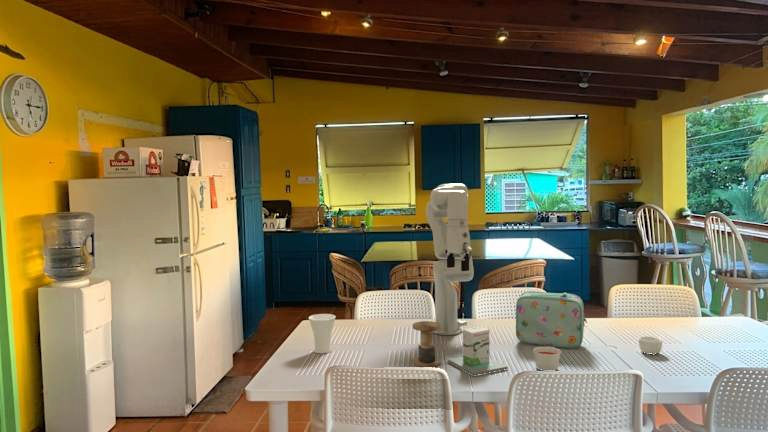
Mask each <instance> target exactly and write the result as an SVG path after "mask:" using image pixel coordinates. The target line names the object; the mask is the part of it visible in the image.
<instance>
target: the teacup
mask: <svg viewBox="0 0 768 432" xmlns="http://www.w3.org/2000/svg"><path fill="white" fill-rule="evenodd" d="M638 347H639V350H640V351H641V352H642V353H643V352H645V353H652V354H655V353H658V354H659V353H661V352H662V351H661V350H662V347H663V341H662V339H661V338H659V337H657V336H656V337H654V336H648V335H643V336H640V337H638ZM645 353H644V354H645Z"/></svg>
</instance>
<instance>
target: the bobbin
mask: <svg viewBox="0 0 768 432" xmlns="http://www.w3.org/2000/svg"><path fill="white" fill-rule="evenodd" d="M440 328H441V324H440V323H437V322H436V321H429V320H425V321H424V320H423V321H415V322H413V323H412V329H413V330H415V331H420V345H418V356H416V357H414V358H413V360H412V364H413V365H414V366H416V367H418V366H422V367H421V368H423V367H432V368H438V367H440V366H441V364H442V360H441V358H439V357H437V356H436V345H434V333H433V331H435V330H439V329H440Z"/></svg>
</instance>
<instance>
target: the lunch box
mask: <svg viewBox="0 0 768 432" xmlns="http://www.w3.org/2000/svg"><path fill="white" fill-rule="evenodd" d="M584 308H585V307H584V301H583V299H582V298H581V297H580V296H579V295H576V294H574V293H567V292H566V291H565V292H563V293H561V292H559V293H557V292H545V291H543V292H542V291H532V290H530V291H529V290H528V291H524V292H523V293H521V295H519V297H518V298H517V300H516V305H515V336H516V338H517V340H518V341H520V342H521V343H524V344H533V345H540V346H544V345H545V346H544V347H548V346H553V348H563V347H564V348H565V349H576V348H579V347H580V346H581V345H582V344H583V339H584V331H585V328H584V327H585V323H586V324H587V323H588V321H587V317H585V313H584Z"/></svg>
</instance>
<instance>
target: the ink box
mask: <svg viewBox="0 0 768 432" xmlns="http://www.w3.org/2000/svg"><path fill="white" fill-rule="evenodd" d="M462 357H463V363H466V364H468V365H471V366H474V365H478V364H482V363H487V362H489V358H490V329H489V328H486V327H483V326H476V327H469V328H464V329H463V330H462Z"/></svg>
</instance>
